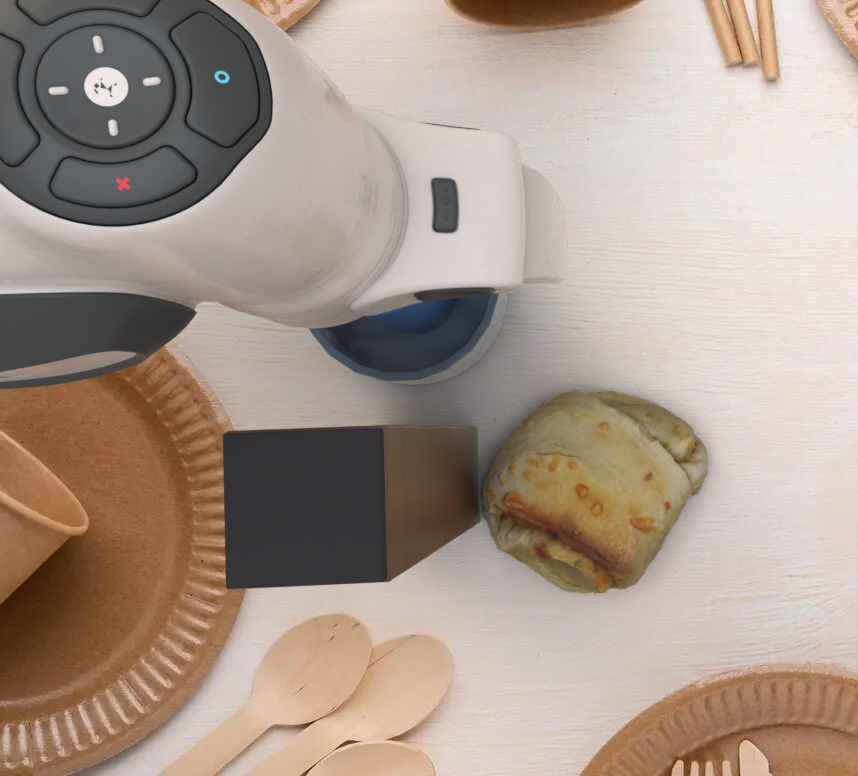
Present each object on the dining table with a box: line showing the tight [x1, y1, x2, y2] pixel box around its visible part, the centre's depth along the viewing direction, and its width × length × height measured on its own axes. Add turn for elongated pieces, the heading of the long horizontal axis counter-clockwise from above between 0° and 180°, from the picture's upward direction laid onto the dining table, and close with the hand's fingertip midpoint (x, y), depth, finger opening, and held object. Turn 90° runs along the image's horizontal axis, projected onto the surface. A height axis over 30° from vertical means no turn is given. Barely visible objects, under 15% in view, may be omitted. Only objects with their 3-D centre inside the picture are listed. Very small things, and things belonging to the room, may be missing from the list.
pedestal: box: [226, 424, 481, 590], centre depth 53 cm, size 6×6×26 cm
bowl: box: [308, 293, 509, 386], centre depth 64 cm, size 11×11×6 cm
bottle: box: [365, 298, 456, 334], centre depth 58 cm, size 5×5×14 cm
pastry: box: [479, 389, 709, 595], centre depth 63 cm, size 14×12×8 cm
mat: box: [222, 428, 387, 590], centre depth 40 cm, size 6×6×1 cm
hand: (383, 267), depth 56 cm, fingers open, 8 cm apart
